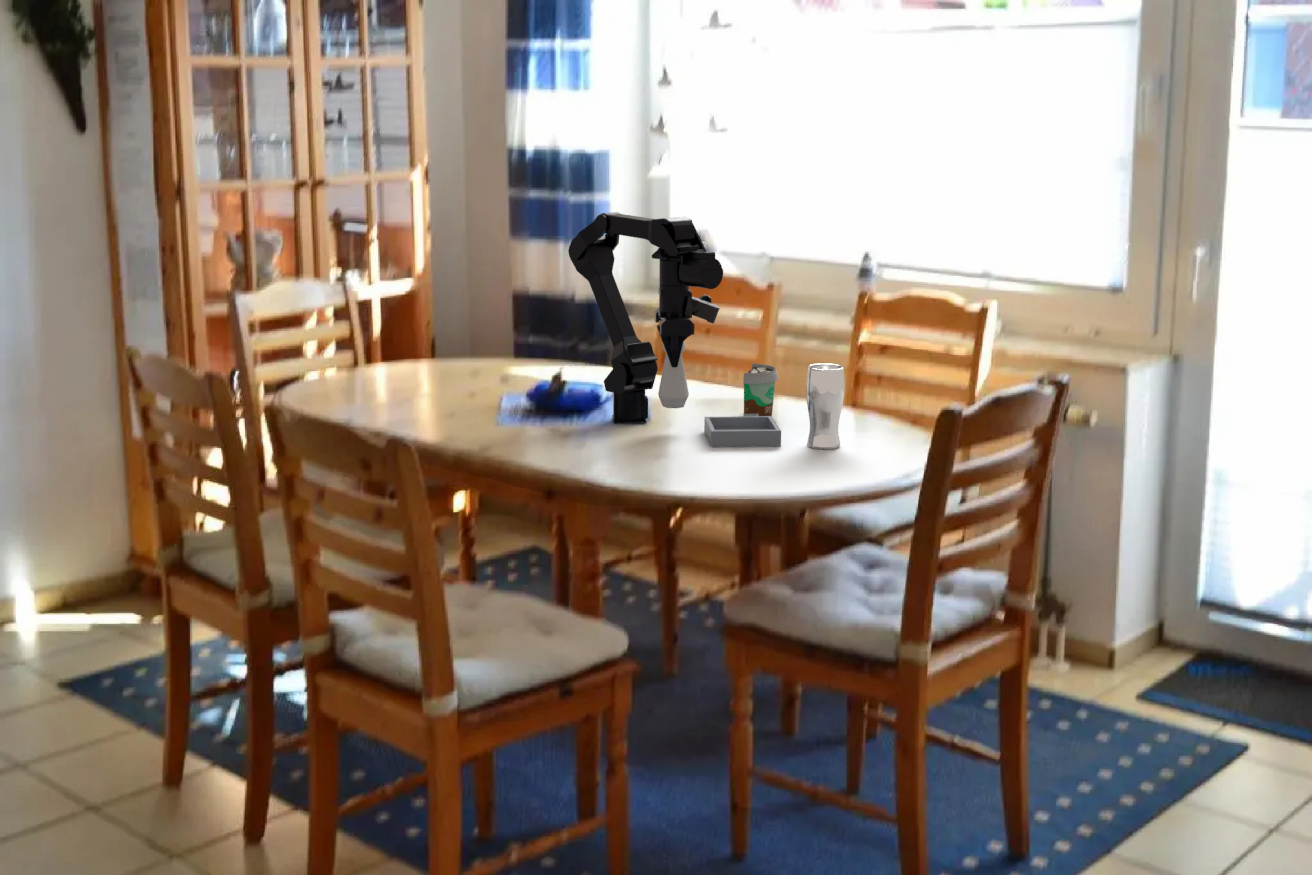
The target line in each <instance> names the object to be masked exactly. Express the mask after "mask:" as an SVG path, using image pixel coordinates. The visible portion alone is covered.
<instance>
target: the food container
mask: <svg viewBox="0 0 1312 875" xmlns="http://www.w3.org/2000/svg"><path fill="white" fill-rule="evenodd" d="M779 379H780V378H779V374H778V370H777V368H776V367H775V366H773V365H769V364H763V363H753V362H752V363H751V369H749V370H748V371H747V372H745V373H743V416H772V417H773V407H774V398H775V397H774V396H775V387H776V386H775V385H776V382H777V381H778V380H779Z"/></svg>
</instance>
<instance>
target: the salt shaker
mask: <svg viewBox="0 0 1312 875" xmlns="http://www.w3.org/2000/svg"><path fill="white" fill-rule="evenodd" d="M662 350H663V352H665V356H664V360H663V366H662V367H663V368H662V372H661V377H660V383H659V389H658V393H657V395H658V398H659V400H660V401H659V402H660V403H661V406H662V407H663V408H666V409H682V408H685V405H686V402H687V400H688V399H689V395H690V393H689V392H690V391H689V387H688V382H687V377H686V376H687V375H686V370H685V366H684V359H683V353H684V352H685V351H686V342H685V341H684V342H683V346H682V350H681V354H680V358H679V363H678V367H672V366H671V363H670V361H669V358H668V355H667V352H666V349H665V347H664V344H663V343H662Z"/></svg>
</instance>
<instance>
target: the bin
mask: <svg viewBox="0 0 1312 875" xmlns="http://www.w3.org/2000/svg"><path fill="white" fill-rule="evenodd" d="M703 421H704V432H703V433H704V434H705V435H704V436H706V438H707V441H708V443H709V445H710V447H711V448H742V447H743V448H747V447H748V448H752V447H755V448H756V447H757V448H758V447H759V448H760V447H761V448H764V447H765V448H766V447H775V448H777V447H781V446H782V429H781V428H780V427H779V425H778V424H777V422H776V421H775V418H774V417H773V415H772V416H744V415H743V416H741V415H739V416H736V415H735V416H704V420H703Z"/></svg>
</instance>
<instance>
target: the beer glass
mask: <svg viewBox="0 0 1312 875" xmlns="http://www.w3.org/2000/svg"><path fill="white" fill-rule="evenodd" d="M844 370H845V368H844V366H843V365H840V364H835V363H813V364H809V365H808V366H807V375H806V385H805V386H806V390H805V391H806V394H805V395H806V404H807V405H806V406H807V412H808V418H809V434H808V438H807V442H806V445H807V447H808V448H810V449H814V450H822V451H823V450H835V449H836V450H837V449H839V448H840V447H841V442H840V440H841V439H840V435H839V433H840V432H839V427H840V425H839V424H840V419H841V414H842V409H843V403H844V398H845V374H844V373H845V372H844Z"/></svg>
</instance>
